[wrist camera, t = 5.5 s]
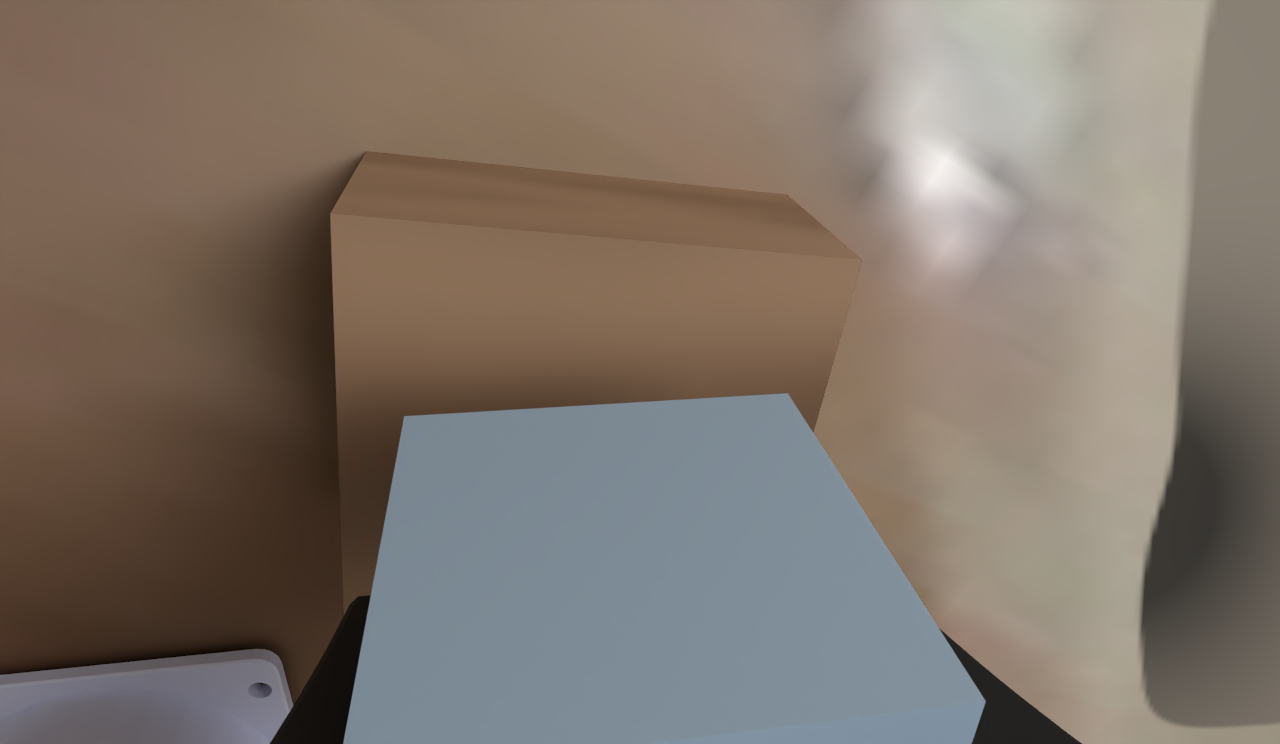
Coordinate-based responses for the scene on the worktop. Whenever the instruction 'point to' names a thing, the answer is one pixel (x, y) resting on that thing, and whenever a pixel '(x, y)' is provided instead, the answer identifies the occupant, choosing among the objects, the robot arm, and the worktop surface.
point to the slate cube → (642, 588)
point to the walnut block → (560, 305)
